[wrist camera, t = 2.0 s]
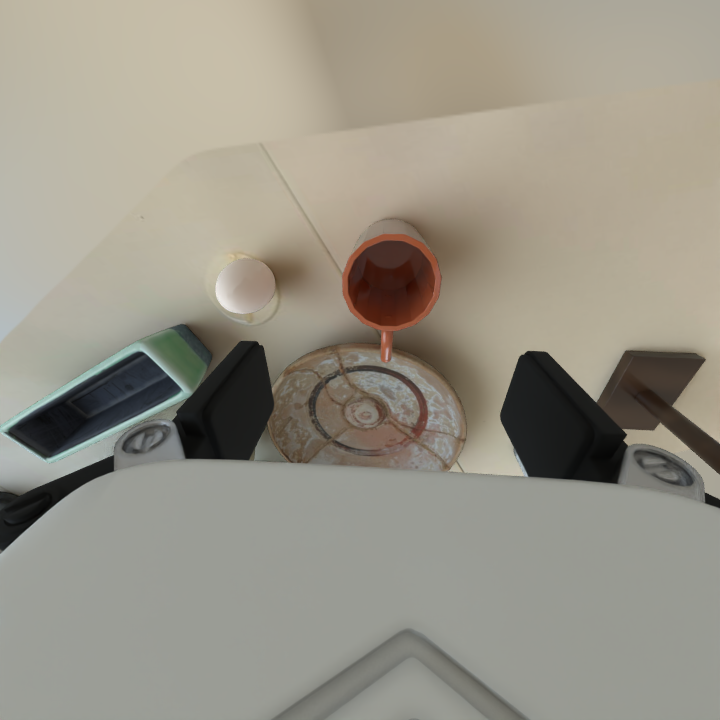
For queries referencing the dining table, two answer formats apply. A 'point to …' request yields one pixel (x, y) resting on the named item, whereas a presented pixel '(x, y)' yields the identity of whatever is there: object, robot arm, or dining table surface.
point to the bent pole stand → (657, 398)
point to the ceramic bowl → (366, 411)
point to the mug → (391, 279)
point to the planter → (112, 395)
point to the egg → (245, 286)
